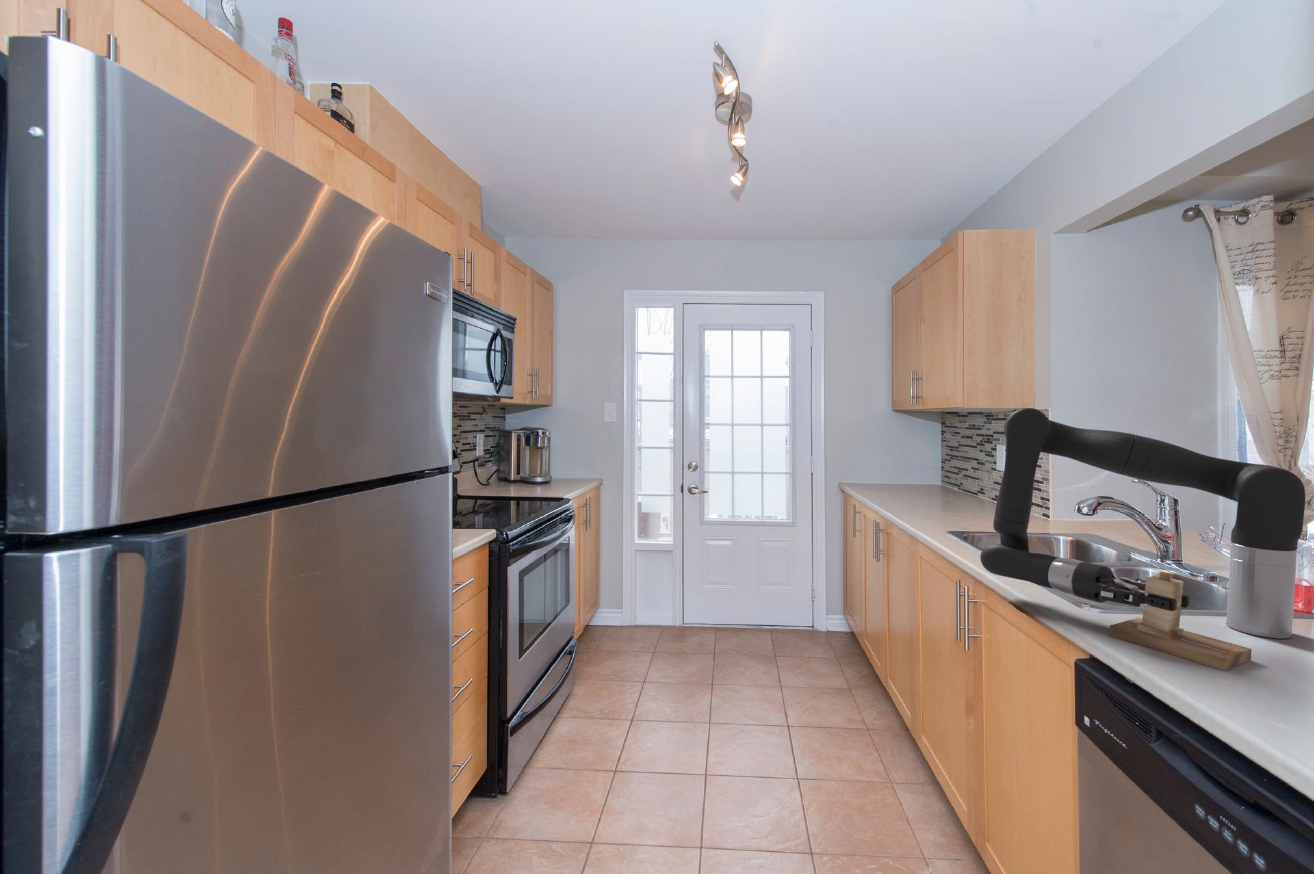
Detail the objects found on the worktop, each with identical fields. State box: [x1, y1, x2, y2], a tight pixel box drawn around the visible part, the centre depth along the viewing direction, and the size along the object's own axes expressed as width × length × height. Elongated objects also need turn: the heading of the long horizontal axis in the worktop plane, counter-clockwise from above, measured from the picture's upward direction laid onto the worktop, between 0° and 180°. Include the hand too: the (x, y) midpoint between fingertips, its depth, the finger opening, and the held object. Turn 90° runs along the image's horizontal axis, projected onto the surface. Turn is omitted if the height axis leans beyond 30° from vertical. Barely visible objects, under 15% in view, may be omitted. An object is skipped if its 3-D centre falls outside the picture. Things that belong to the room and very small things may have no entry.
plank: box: [1109, 617, 1252, 671], centre depth 109 cm, size 10×17×2 cm, turn 26°
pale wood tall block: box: [1137, 571, 1184, 640], centre depth 109 cm, size 5×6×11 cm
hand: (1181, 603), depth 107 cm, fingers closed on pale wood tall block, 4 cm apart
